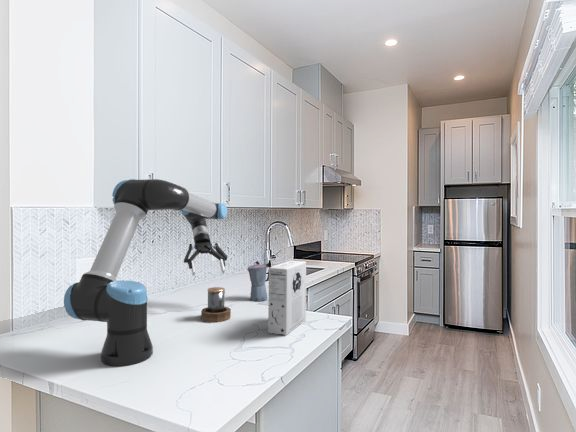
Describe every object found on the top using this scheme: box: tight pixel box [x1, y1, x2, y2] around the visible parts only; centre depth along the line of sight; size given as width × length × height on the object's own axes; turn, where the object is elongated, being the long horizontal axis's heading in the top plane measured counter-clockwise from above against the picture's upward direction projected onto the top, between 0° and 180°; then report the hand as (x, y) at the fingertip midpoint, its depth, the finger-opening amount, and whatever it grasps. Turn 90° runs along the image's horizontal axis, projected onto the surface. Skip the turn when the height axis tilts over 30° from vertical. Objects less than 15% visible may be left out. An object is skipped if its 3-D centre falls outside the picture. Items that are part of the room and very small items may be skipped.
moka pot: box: [246, 260, 272, 302], centre depth 193 cm, size 10×15×20 cm, turn 137°
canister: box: [207, 286, 226, 313], centre depth 160 cm, size 7×7×12 cm
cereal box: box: [267, 260, 307, 336], centre depth 150 cm, size 22×8×25 cm, turn 157°
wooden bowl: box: [200, 306, 232, 323], centre depth 160 cm, size 12×12×4 cm
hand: (209, 273), depth 169 cm, fingers open, 13 cm apart
